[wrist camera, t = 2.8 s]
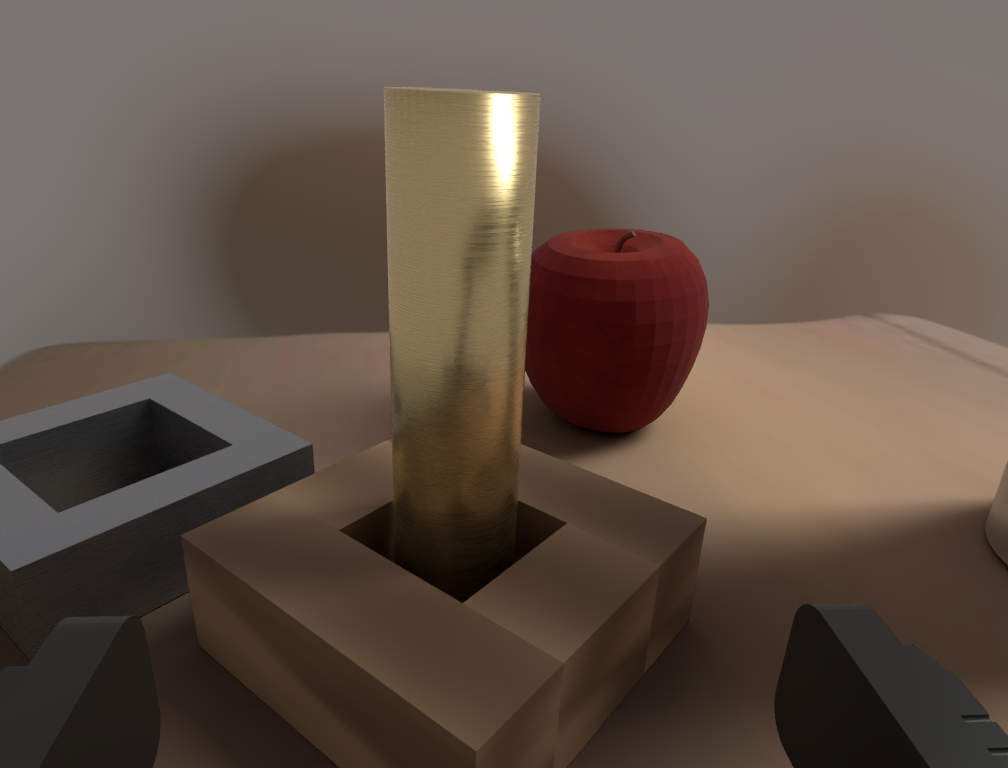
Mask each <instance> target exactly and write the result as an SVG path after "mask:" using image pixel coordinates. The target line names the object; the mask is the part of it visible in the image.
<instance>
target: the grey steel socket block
mask: <svg viewBox="0 0 1008 768" xmlns="http://www.w3.org/2000/svg"><path fill="white" fill-rule="evenodd" d="M161 472H162V473H161ZM159 473H160V474H159ZM156 474H157V475H156ZM312 474H314V459H313V445H312V443H310V442H308V441H306V440H304V439H302V438H300V437H298V436H296V435H294V434H292V433H290V432H288V431H286V430H284V429H282V428H280V427H278V426H276V425H274V424H272V423H270V422H268V421H266V420H264V419H262V418H260V417H258V416H256V415H255V414H253V413H251V412H249V411H247V410H245V409H243V408H241V407H239V406H237V405H235V404H233V403H231V402H229V401H227V400H225V399H223V398H221V397H219V396H217V395H215V394H213V393H211V392H209V391H207V390H205V389H203V388H201V387H199V386H197V385H195V384H193V383H191V382H189V381H187V380H185V379H183V378H181V377H179V376H177V375H175V374H173V373H171V372H170V373H166V374H163V375H159V376H156V377H152V378H149V379H145V380H142V381H138V382H135V383H131V384H128V385H124V386H121V387H117V388H114V389H110V390H107V391H103V392H100V393H96V394H93V395H89V396H86V397H82V398H79V399H75V400H72V401H68V402H65V403H61V404H58V405H54V406H51V407H47V408H44V409H40V410H37V411H33V412H30V413H26V414H23V415H19V416H16V417H12V418H9V419H5V420H2V421H0V626H1V627H2V628H3V630H4V631H5V632H6V633H7V634H8V635H9V637H10V638H11V639H12V640H13V641H14V642H15V644H16V645H17V646H18V647H19V648H20V649H21V651H22V652H23V653H24V654H25V655H26V656H27V658H28V659H29V660H30V661H31V660H32V659H33V657H34V656H35V655H36V653H37V652H38V650H39V649H40V647H41V646H42V645H43V643H44V642H45V640H46V639H47V637H48V636H49V635H50V633H51V632H52V630H53V629H54V628H55V626H56V625H57V624H58V623H59V622H60V621H61V620H63V619H65V618H68V617H98V616H137V617H138V618H139V617H141V616H143V615H144V614H146V613H148V612H150V611H152V610H154V609H156V608H158V607H160V606H162V605H163V604H165V603H167V602H169V601H171V600H173V599H175V598H177V597H179V596H181V595H182V594H184V593H186V592H188V591H190V590H189V584H188V578H187V572H186V566H185V559H184V553H183V547H182V541H181V535H182V534H185V533H187V532H189V531H191V530H193V529H195V528H198V527H200V526H202V525H204V524H206V523H208V522H211V521H213V520H215V519H217V518H219V517H221V516H224V515H226V514H228V513H230V512H232V511H234V510H236V509H239V508H241V507H243V506H245V505H247V504H249V503H252V502H254V501H256V500H258V499H260V498H262V497H265V496H267V495H269V494H271V493H273V492H275V491H278V490H280V489H282V488H284V487H286V486H288V485H291V484H293V483H295V482H297V481H299V480H301V479H304V478H306V477H308V476H310V475H312ZM154 475H155V476H154ZM151 476H152V477H151ZM148 477H149V478H148ZM146 478H147V479H146ZM143 479H144V480H143ZM141 480H142V481H141ZM138 481H139V482H138ZM135 482H136V483H135ZM133 483H134V484H133ZM130 484H131V485H130ZM128 485H129V486H128ZM125 486H126V487H125ZM123 487H124V488H123ZM120 488H121V489H120ZM117 489H118V490H117ZM115 490H116V491H115ZM112 491H113V492H112ZM110 492H111V493H110ZM107 493H108V494H107ZM104 494H105V495H104ZM102 495H103V496H102ZM99 496H100V497H99ZM97 497H98V498H97ZM94 498H95V499H94ZM92 499H93V500H92ZM89 500H90V501H89ZM86 501H87V502H86ZM84 502H85V503H84ZM81 503H82V504H81ZM79 504H80V505H79ZM76 505H77V506H76ZM73 506H75V507H73ZM71 507H72V508H71ZM68 508H69V509H68ZM66 509H67V510H66ZM63 510H64V511H63ZM61 511H62V512H61ZM58 512H59V513H58Z"/></svg>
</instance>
